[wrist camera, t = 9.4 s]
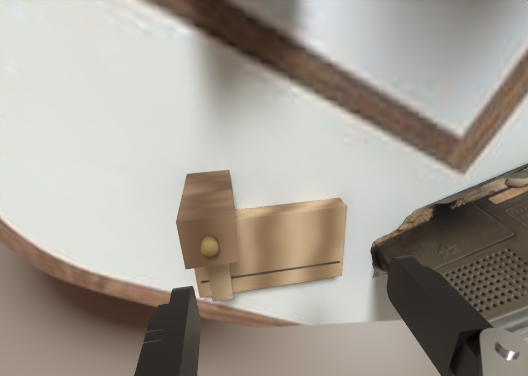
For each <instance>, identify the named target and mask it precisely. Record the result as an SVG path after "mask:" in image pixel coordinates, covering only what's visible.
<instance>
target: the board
mask: <svg viewBox="0 0 528 376" xmlns="http://www.w3.org/2000/svg"><path fill="white" fill-rule="evenodd" d="M346 214H347V206H346V205H345V204H344V202H343V201H342V200H341V199H340V198H334V199H326V200H318V201H309V202H301V203H292V204H284V205H276V206H267V207H259V208H250V209H242V210H235V216H236V226H237V235H238V245H239V254H240V262H234V263H229V265H230V274H231V282H232V291H233V293H234V292H241V291H247V290H254V289H260V288H267V287H273V286H280V285H286V284H293V283H299V282H306V281H312V280H319V279H325V278H332V277H339V276H342V267H343V254H344V241H345V227H346ZM194 269H195V275H196V280H197V285H198V291H199V296H200V298H201V297H208V296H212V293H211V287H210V281H209V275H208V269H207V266H206V267H198V268H194Z"/></svg>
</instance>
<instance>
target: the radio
mask: <svg viewBox="0 0 528 376" xmlns="http://www.w3.org/2000/svg"><path fill="white" fill-rule="evenodd" d="M371 255H372V260H373V263H372V265H373V267H374V274H373V278H374V277H377V276H380V275H383V274H389V267H390V261H391V259H392V258H395V257H402V256H409V255H411V256H413V257H415V258H416V259H417V261H418V262H419V263H420V264H421V265H422V266H423V267H426V266H428V267H429V268H431V269H433V270H435V271H436V272H438V273H440V274H441V275H442V276H443V277H444V278H445V279H446V280H447V281H448V282H449V283H450V284H451V286H453V287H454V288H455V289H456V290H457V291H458V292H459V294H460V295H462V296H463V297H464V298H465V299H466V300H467V301H468V302H469V303H470V304H471V305H472V306H473V307H474V308H475V309H476V310H477V311H478V312H479V313H480V314H481V315H482V316H483V317H484V318H485V319H486V320H487V321H488V322H489V323H490V324H491V325H492V326H493V327H494V328H499V329H503V330H506V331H509V332H511V333H513V334H515V335H517V336H519V337H520V338H522V339H523V340H524V341H526V342H527V343H528V164H526V165H523V166H521V167H518V168H516V169H514V170H511V171H509V172H506V173H504V174H502V175H499V176H497V177H494V178H492V179H490V180H487V181H485V182H482V183H480V184H478V185H475V186H473V187H470V188H468V189H466V190H463V191H461V192H458V193H456V194H454V195H451V196H449V197H446V198H444V199H442V200H439V201H437V202H434V203H432V204H430V205H427V206H425V207H422V208H420V209H418V210H415V211H414V212H413V214H412V215H410V216H408V217H406V220H405V221H404V222H403V224H402V225H401V226H400V227H399V228H398V229H396V230H395V231H393V232H392V233H390V234H388V235H386V236H383V237H381V238H379V239H377V240H376V241H374V243H373V244H372V247H371Z"/></svg>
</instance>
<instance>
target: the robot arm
mask: <svg viewBox="0 0 528 376" xmlns="http://www.w3.org/2000/svg"><path fill="white" fill-rule="evenodd" d="M387 293H388V296H389V299H390V301H391V303H392V304H393V306H394V307H395V309H396V310H397V312H398V313H399V314H400V316H401V317H402V319H403V320H404V322H405V323H406V325H407V326H408V328H409V329H410V331H411V332H412V333H413V335H414V336H415V338H416V339H417V341H418V342H419V344H420V345H421V347H422V348H423V350H424V351H425V352H426V354H427V355H428V357H429V358H430V360H431V361H432V363H433V364H434V366H435V367H436V369H437V370H438V372H439V373H440V374H441V376H528V343H527V342H526V341H524V340H523V339H522V338H520V337H519V336H517V335H515V334H513V333H511V332H509V331H506V330H503V329H499V328H494V327H493V326H492V325H491V324H490V323H489V322H488V321H487V320H486V319H485V318H484V317H483V316H482V315H481V314H480V313H479V312H478V311H477V310H476V309H475V308H474V307H473V306H472V305H471V304H470V303H469V302H468V301H467V300H466V299H465V298H464V297H463V296H462V295H460V294H459V292H458V291H457V290H456V289H455V288H454V287H453V286H451V284H450V283H449V282H448V281H447V280H446V279H445V278H444V277H443V276H442V275H441V274H440V273H438V272H436V271H435V270H433V269H431V268H429V267H428V266H426V267H423V266H422V265H421V264H420V263H419V262H418V261H417V259H416V258H415V257H413V256H411V255H409V256H402V257H395V258H392V259H391V261H390V267H389V274H388V281H387ZM200 331H201V325H200V314H199V310H198V305H197V301H196V296H195V292H194V288H193V286H188V287H181V288H174V289H173V290H172V292H171V297H170V302H169V304H163V305H159V306H158V307H157V309H156V310H155V311H154V313H153V314H152V316H151V317H150V320H149V324H148V327H147V333H146V335H145V338H144V344H143V346H142V349H141V353H140V357H139V361H138V364H137V368H136V372H135V375H134V376H197V369H198V357H199V344H200Z"/></svg>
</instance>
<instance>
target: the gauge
mask: <svg viewBox="0 0 528 376" xmlns="http://www.w3.org/2000/svg"><path fill="white" fill-rule="evenodd" d="M176 224H177V229H178V234H179V239H180V244H181V249H182V254H183V259H184V264H185V269H191V268H198V267H206V266H207V269H208V275H209V281H210V287H211V293H212V299H213V302H215V301H221V300H227V299H233V291H232V282H231V274H230V265H229V263H234V262H240V254H239V245H238V235H237V226H236V216H235V209H234V201H233V194H232V187H231V180H230V173H229V170H222V171H212V172H202V173H193V174H187V176H186V180H185V185H184V189H183V194H182V198H181V203H180V207H179V211H178V216H177V220H176Z"/></svg>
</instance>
